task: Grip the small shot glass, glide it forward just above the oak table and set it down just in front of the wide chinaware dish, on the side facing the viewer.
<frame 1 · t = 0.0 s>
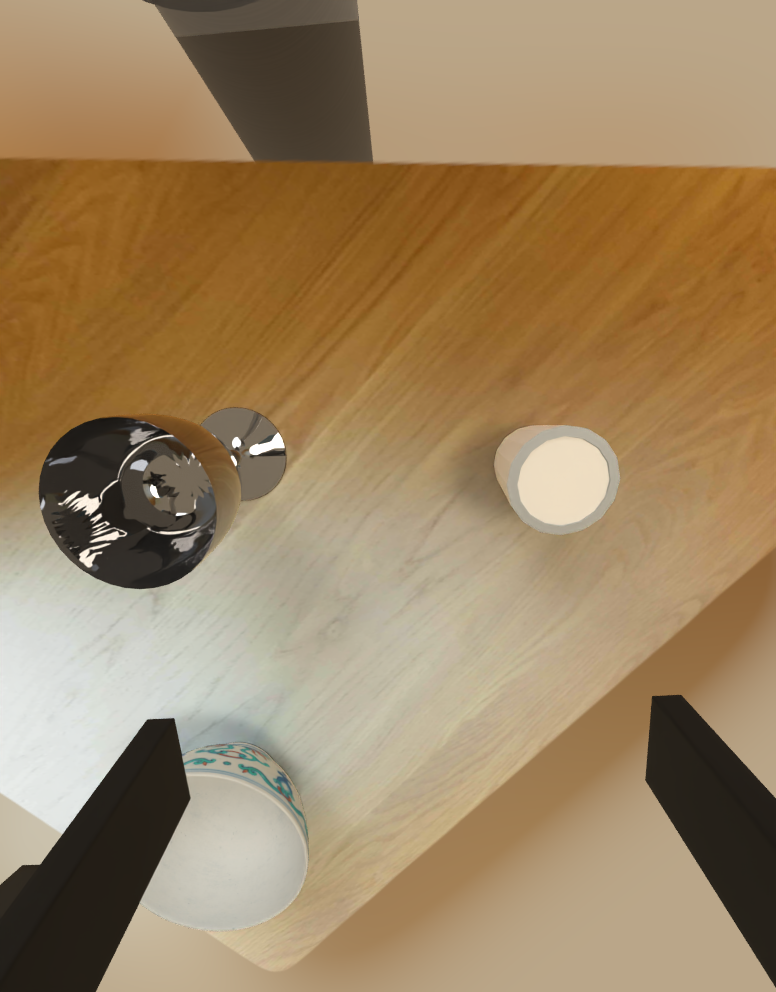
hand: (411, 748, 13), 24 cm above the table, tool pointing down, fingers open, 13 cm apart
shot glass: (530, 462, 35), on the table
chinaware: (242, 770, 42), on the table
wine glass: (240, 454, 35), on the table
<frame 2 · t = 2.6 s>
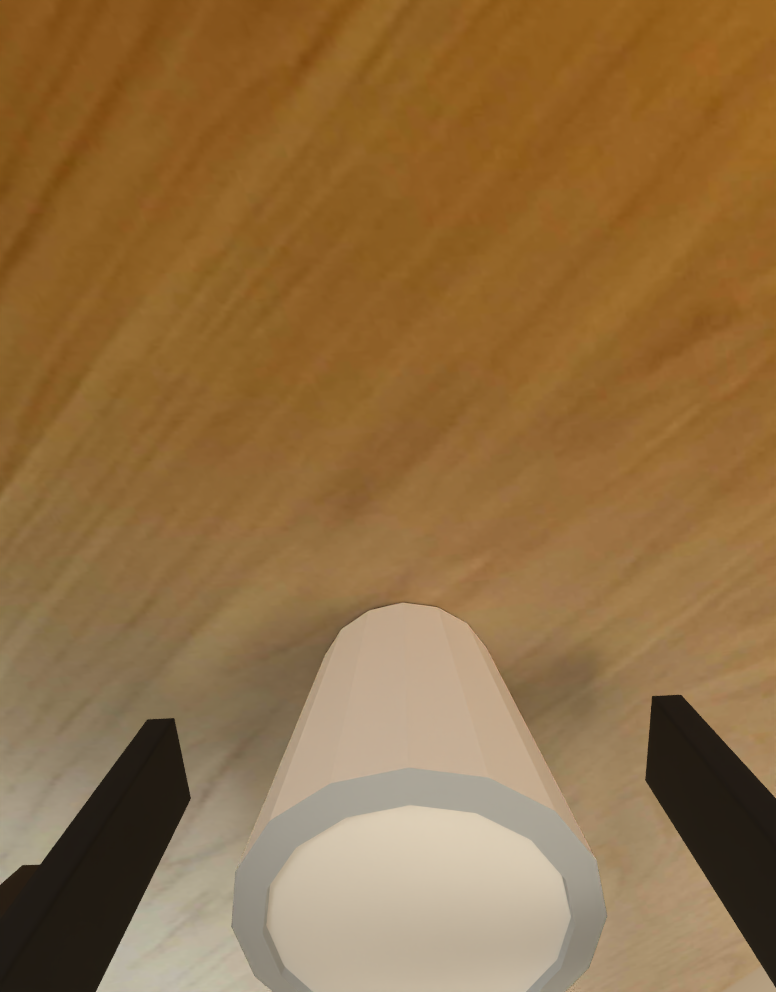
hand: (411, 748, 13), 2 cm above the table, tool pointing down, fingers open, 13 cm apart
shot glass: (406, 676, 15), on the table
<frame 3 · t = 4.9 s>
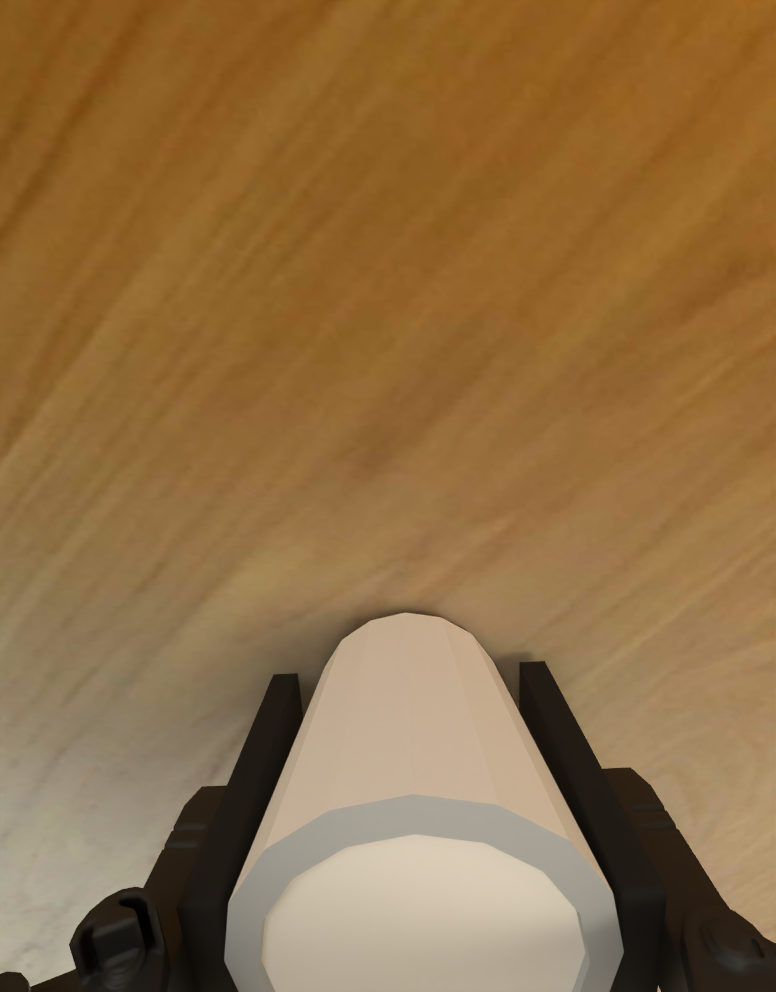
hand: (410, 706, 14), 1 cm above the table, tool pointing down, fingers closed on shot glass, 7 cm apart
shot glass: (409, 689, 15), on the table, touching gripper
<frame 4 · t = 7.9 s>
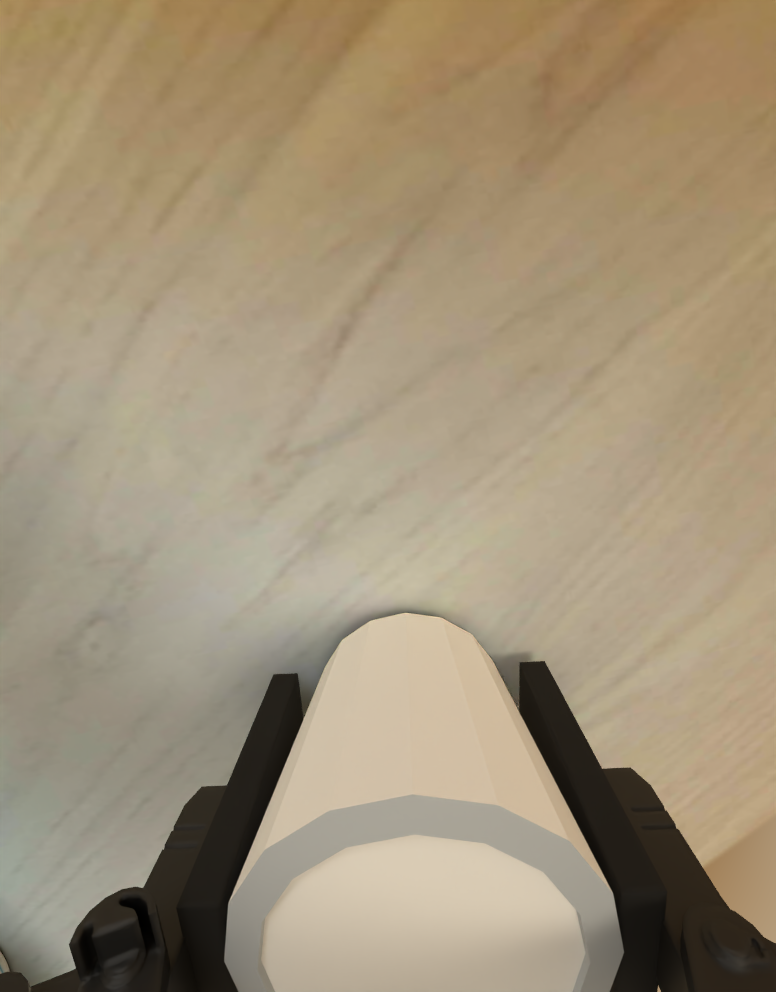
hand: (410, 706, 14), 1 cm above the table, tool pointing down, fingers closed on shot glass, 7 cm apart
shot glass: (409, 689, 15), on the table, touching gripper
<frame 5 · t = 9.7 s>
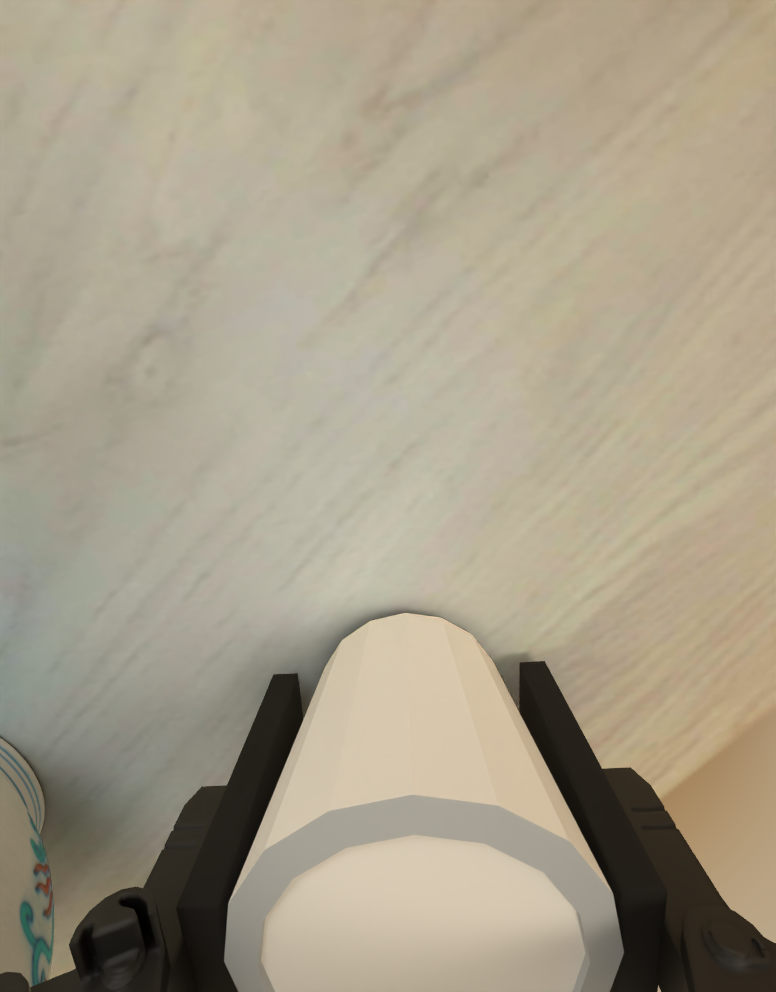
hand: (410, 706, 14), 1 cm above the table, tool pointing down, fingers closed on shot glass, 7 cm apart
shot glass: (409, 689, 15), on the table, touching gripper
when the fingers open (0 cm above the table, at t = 11.1 s): shot glass stays where it is, on the table.
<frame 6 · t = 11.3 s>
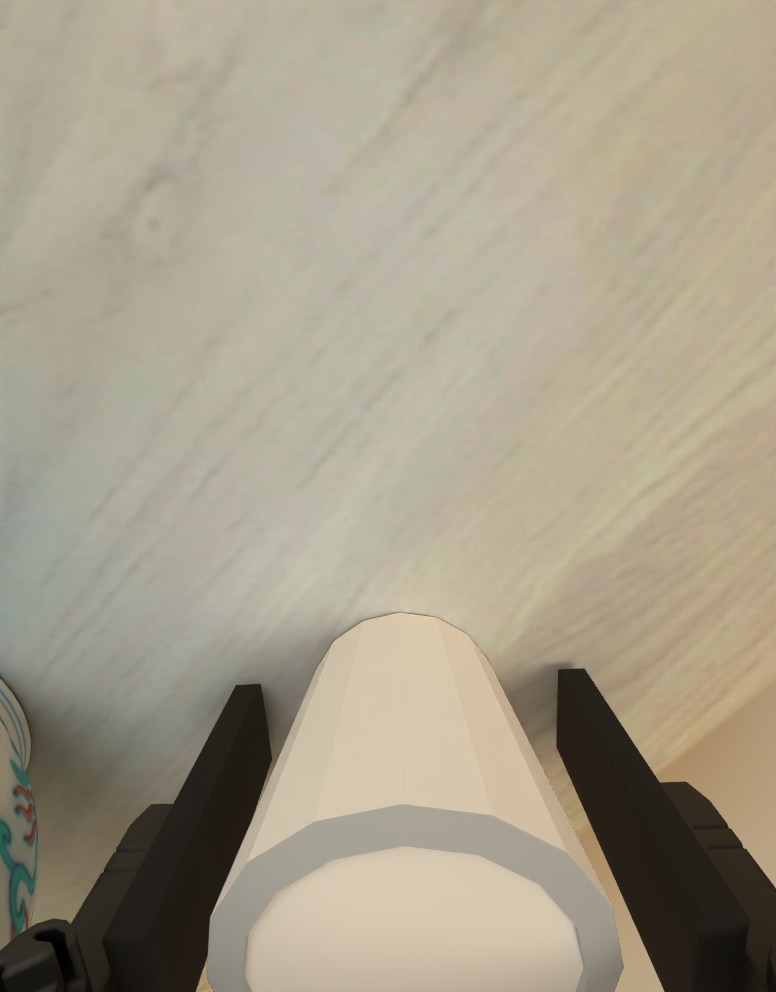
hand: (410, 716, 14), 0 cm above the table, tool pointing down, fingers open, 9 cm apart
shot glass: (403, 690, 14), on the table
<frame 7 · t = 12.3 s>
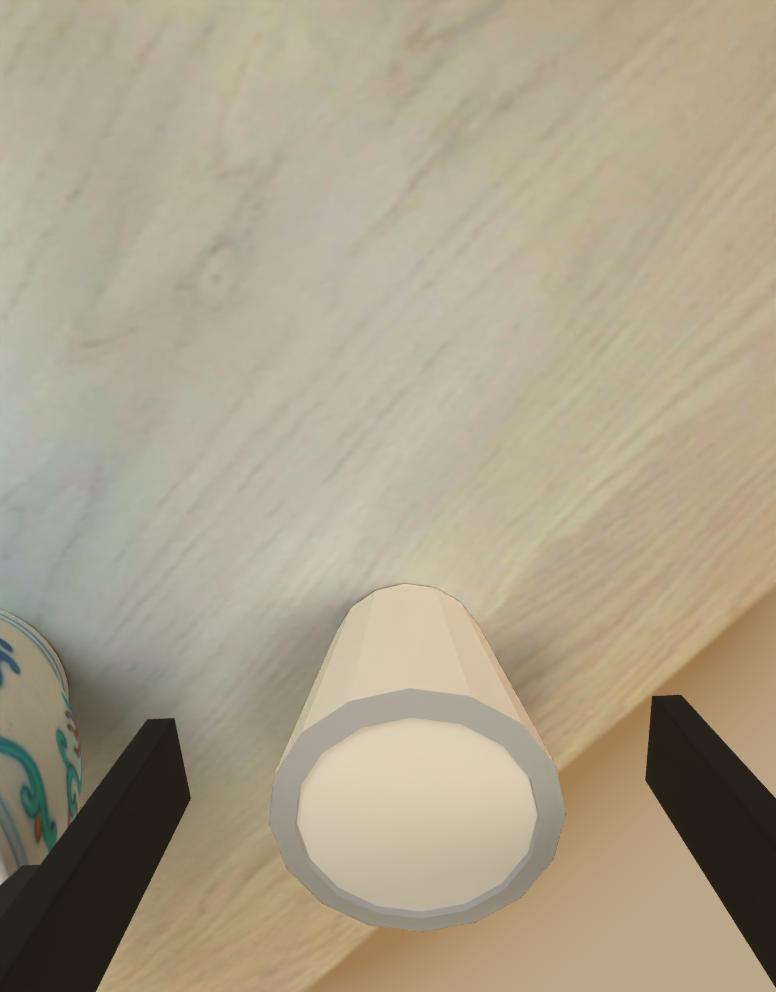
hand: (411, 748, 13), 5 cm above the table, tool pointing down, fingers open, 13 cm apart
shot glass: (408, 650, 18), on the table
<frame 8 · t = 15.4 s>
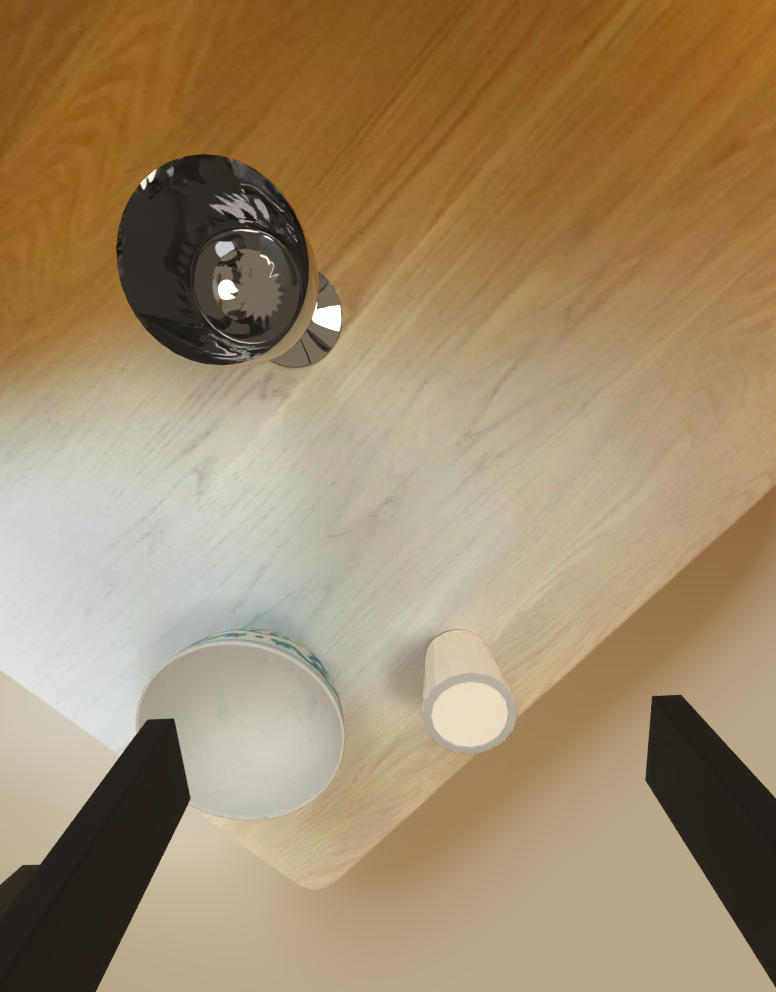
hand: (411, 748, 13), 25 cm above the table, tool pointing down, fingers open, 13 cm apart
shot glass: (457, 657, 40), on the table
chinaware: (269, 669, 41), on the table
wine glass: (293, 316, 34), on the table
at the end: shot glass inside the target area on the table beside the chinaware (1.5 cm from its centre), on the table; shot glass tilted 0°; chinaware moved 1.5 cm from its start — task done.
